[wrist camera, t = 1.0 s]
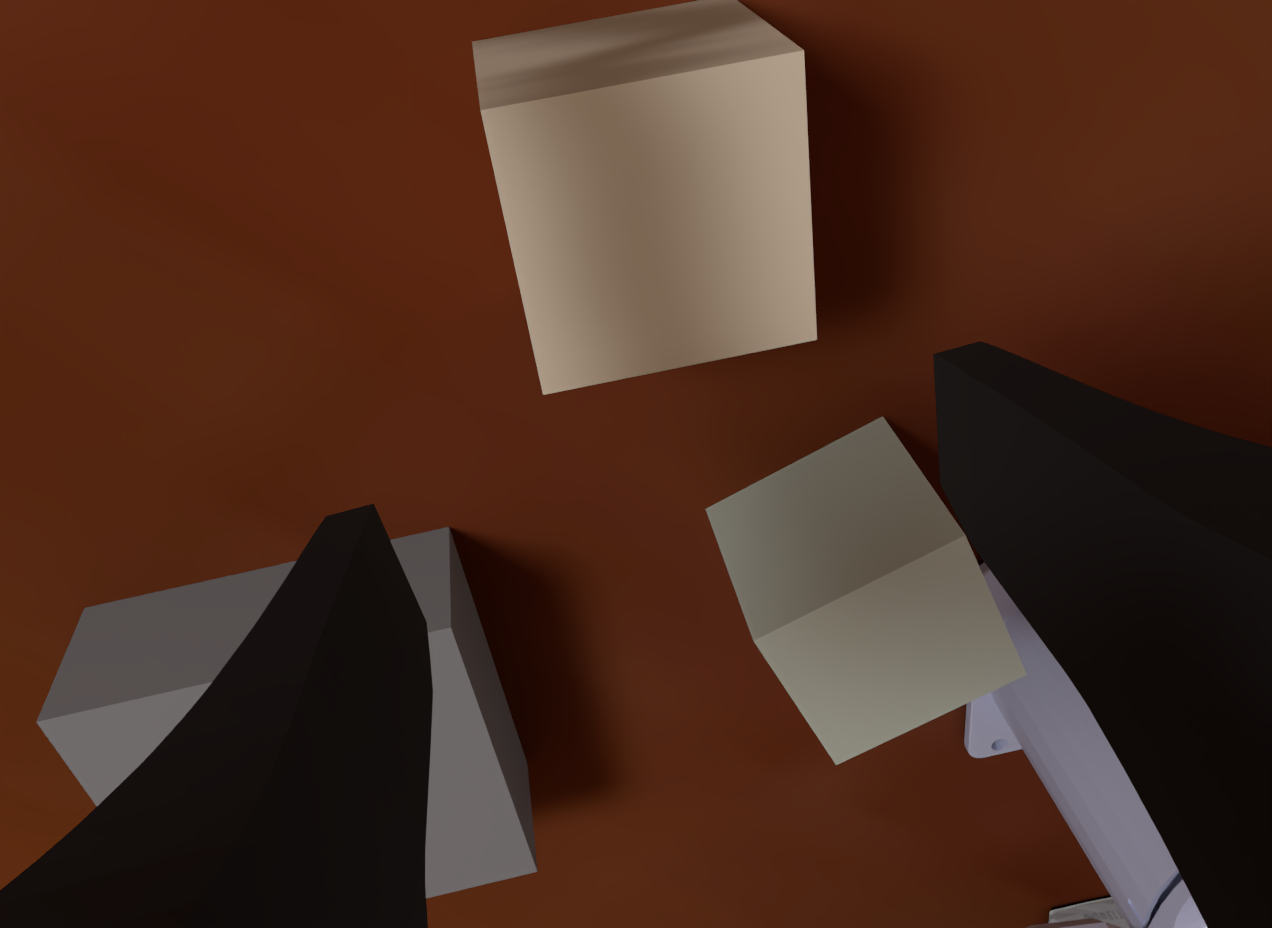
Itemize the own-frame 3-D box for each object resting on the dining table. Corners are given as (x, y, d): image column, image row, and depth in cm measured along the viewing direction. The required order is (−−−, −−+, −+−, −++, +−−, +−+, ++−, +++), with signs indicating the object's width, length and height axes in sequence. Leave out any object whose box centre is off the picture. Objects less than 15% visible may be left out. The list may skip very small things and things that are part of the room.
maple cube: (728, -6, 20) (803, 50, 16) (748, 238, 23) (817, 340, 19) (472, 41, 20) (480, 110, 16) (524, 282, 23) (543, 395, 18)
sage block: (881, 414, 26) (965, 535, 22) (942, 546, 29) (1026, 675, 25) (704, 506, 27) (753, 640, 23) (780, 626, 29) (836, 765, 25)
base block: (449, 519, 26) (450, 627, 23) (526, 755, 31) (537, 871, 28) (88, 599, 26) (36, 722, 22) (226, 825, 31) (201, 952, 27)
